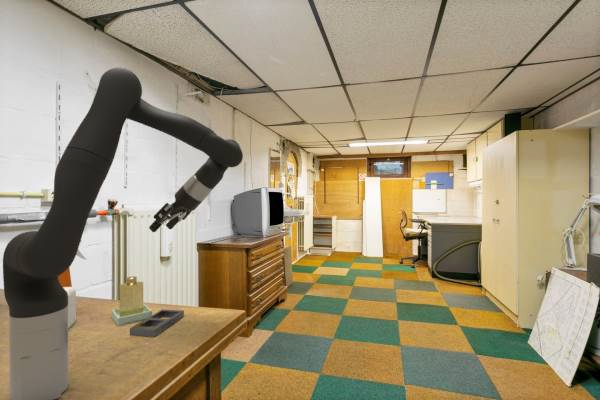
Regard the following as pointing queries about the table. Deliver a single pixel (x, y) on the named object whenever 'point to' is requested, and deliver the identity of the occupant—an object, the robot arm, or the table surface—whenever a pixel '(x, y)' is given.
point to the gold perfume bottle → (131, 297)
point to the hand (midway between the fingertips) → (160, 228)
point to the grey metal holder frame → (156, 323)
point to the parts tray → (131, 316)
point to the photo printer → (71, 305)
